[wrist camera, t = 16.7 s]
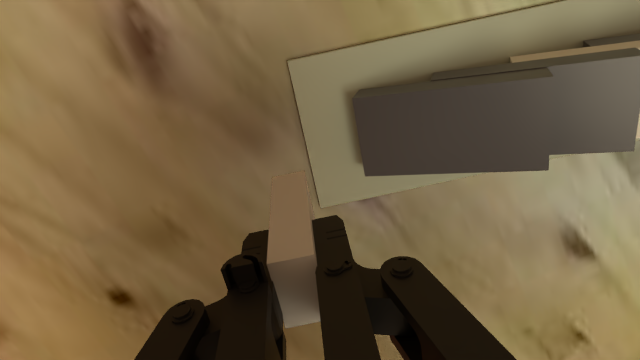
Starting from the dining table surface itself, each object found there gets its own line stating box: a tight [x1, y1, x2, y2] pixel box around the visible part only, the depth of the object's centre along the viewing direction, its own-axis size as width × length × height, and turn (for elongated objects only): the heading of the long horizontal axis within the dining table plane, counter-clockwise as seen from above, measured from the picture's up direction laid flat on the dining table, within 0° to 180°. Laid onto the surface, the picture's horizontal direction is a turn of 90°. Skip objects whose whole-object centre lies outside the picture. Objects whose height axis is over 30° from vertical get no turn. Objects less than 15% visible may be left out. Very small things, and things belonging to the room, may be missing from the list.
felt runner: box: [287, 0, 640, 208], centre depth 25 cm, size 23×10×1 cm, turn 101°
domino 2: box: [431, 47, 640, 155], centre depth 22 cm, size 2×5×10 cm
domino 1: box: [352, 68, 554, 176], centre depth 23 cm, size 2×5×10 cm
